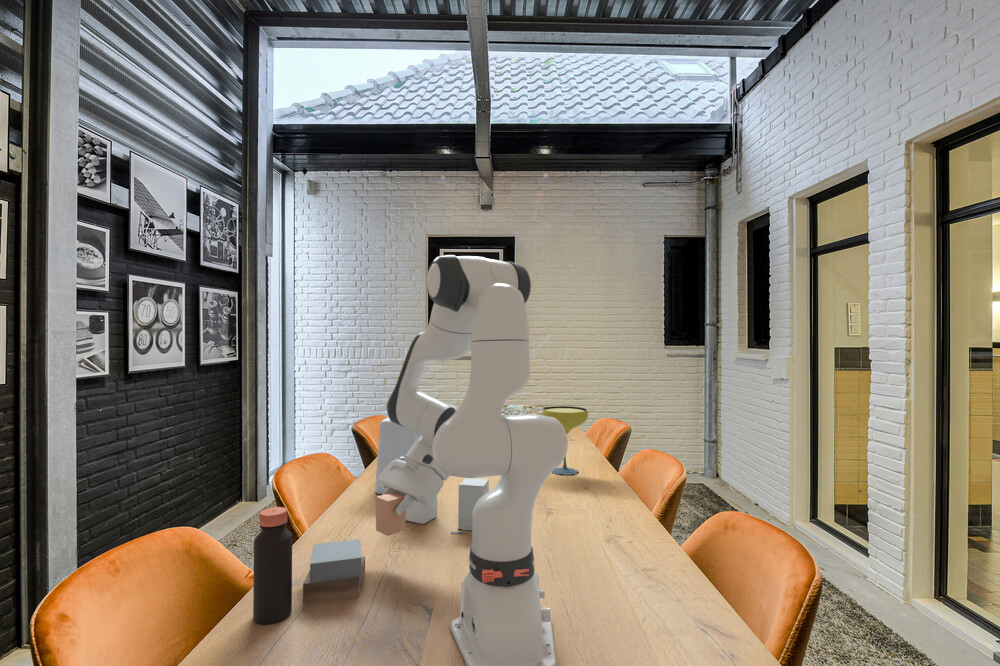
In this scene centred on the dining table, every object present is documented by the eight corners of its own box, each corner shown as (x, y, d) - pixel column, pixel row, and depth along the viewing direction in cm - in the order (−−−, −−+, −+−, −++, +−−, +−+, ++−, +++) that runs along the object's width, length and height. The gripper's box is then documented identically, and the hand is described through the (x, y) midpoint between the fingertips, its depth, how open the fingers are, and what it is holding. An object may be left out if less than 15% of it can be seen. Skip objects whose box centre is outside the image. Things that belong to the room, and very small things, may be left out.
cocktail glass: (594, 470, 200) (594, 408, 200) (576, 480, 185) (576, 414, 185) (554, 463, 210) (554, 405, 210) (534, 473, 194) (534, 410, 195)
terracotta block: (405, 530, 118) (405, 496, 118) (387, 536, 114) (387, 501, 114) (394, 524, 121) (394, 492, 121) (375, 530, 118) (376, 496, 118)
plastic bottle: (413, 498, 165) (414, 414, 165) (371, 495, 167) (371, 412, 167) (427, 484, 180) (427, 407, 180) (388, 482, 182) (388, 406, 182)
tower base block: (358, 599, 102) (358, 580, 102) (302, 603, 100) (303, 583, 100) (365, 574, 113) (365, 556, 113) (314, 577, 111) (314, 559, 111)
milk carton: (403, 520, 144) (403, 455, 145) (418, 512, 151) (418, 450, 151) (422, 524, 141) (423, 458, 141) (437, 516, 147) (437, 453, 148)
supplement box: (483, 532, 136) (483, 486, 136) (457, 530, 137) (457, 484, 138) (489, 522, 143) (489, 478, 143) (464, 520, 145) (464, 477, 145)
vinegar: (281, 601, 100) (282, 502, 100) (298, 613, 95) (299, 510, 96) (246, 616, 95) (247, 511, 95) (263, 629, 90) (264, 520, 90)
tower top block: (361, 576, 103) (361, 557, 103) (310, 583, 100) (310, 563, 100) (360, 556, 113) (360, 538, 113) (313, 562, 110) (313, 544, 110)
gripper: (391, 448, 130) (358, 493, 123) (439, 460, 116) (404, 512, 109) (406, 462, 133) (373, 507, 126) (454, 476, 119) (421, 528, 112)
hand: (388, 510), depth 117 cm, fingers closed on terracotta block, 5 cm apart
